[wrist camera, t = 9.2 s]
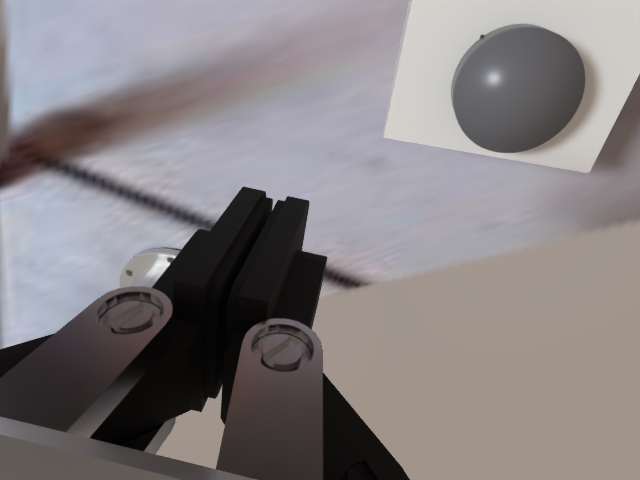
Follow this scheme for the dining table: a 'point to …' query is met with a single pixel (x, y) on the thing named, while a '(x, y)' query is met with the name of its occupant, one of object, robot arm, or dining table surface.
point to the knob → (517, 88)
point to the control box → (490, 14)
